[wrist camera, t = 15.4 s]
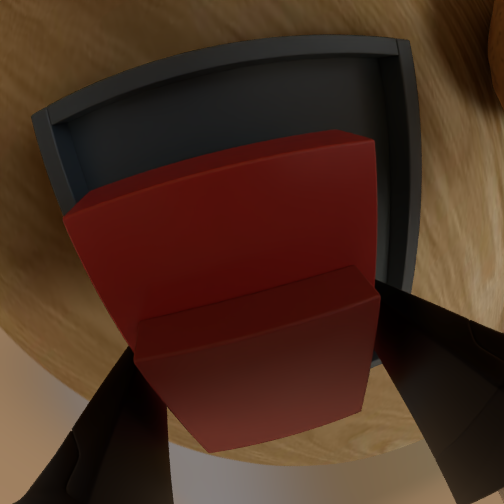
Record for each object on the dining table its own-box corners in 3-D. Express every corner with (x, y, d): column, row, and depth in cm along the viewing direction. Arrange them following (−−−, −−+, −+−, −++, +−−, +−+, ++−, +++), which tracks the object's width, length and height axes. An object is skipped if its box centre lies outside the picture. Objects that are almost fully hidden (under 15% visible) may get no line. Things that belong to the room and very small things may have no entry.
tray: (185, 394, 14) (186, 420, 13) (55, 112, 7) (29, 115, 5) (382, 336, 15) (397, 357, 13) (380, 44, 8) (410, 40, 6)
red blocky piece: (206, 470, 8) (372, 424, 8) (31, 249, 3) (416, 151, 4) (198, 395, 11) (337, 357, 11) (95, 183, 6) (326, 126, 7)
